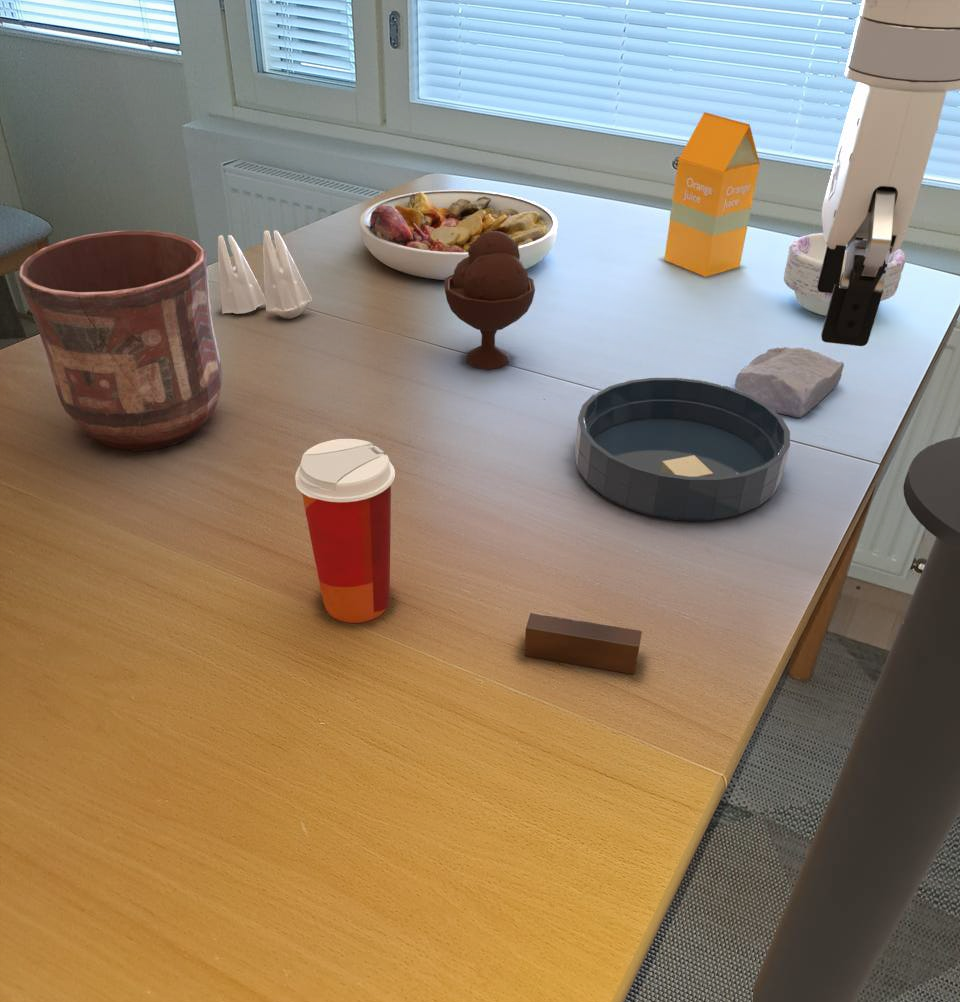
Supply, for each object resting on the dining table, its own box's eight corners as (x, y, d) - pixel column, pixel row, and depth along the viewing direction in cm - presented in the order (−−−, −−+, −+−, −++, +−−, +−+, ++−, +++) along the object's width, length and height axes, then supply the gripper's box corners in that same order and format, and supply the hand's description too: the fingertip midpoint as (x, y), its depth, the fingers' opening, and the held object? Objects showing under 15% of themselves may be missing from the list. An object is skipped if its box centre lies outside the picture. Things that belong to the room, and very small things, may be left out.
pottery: (235, 457, 99) (205, 286, 87) (59, 473, 96) (4, 298, 84) (231, 382, 112) (205, 224, 100) (77, 394, 109) (30, 233, 97)
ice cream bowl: (432, 347, 120) (430, 225, 111) (514, 337, 123) (519, 217, 113) (458, 384, 113) (459, 256, 103) (544, 371, 116) (553, 246, 106)
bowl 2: (778, 432, 105) (789, 390, 102) (778, 538, 90) (791, 493, 86) (590, 408, 109) (594, 367, 106) (559, 506, 93) (563, 462, 90)
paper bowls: (765, 285, 138) (777, 229, 133) (867, 285, 139) (883, 230, 134) (795, 328, 127) (809, 268, 122) (906, 328, 128) (925, 268, 122)
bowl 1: (483, 210, 162) (484, 160, 157) (595, 264, 144) (600, 209, 139) (327, 241, 149) (323, 188, 144) (428, 304, 131) (427, 246, 126)
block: (688, 486, 95) (694, 455, 93) (706, 504, 93) (713, 473, 90) (656, 492, 94) (662, 461, 92) (674, 511, 92) (680, 479, 89)
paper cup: (371, 565, 85) (361, 425, 76) (418, 609, 81) (413, 466, 72) (294, 596, 82) (273, 454, 73) (339, 644, 77) (323, 498, 68)
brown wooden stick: (523, 656, 77) (525, 627, 75) (528, 640, 78) (530, 612, 76) (634, 674, 75) (639, 646, 73) (637, 658, 77) (642, 630, 75)
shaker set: (315, 313, 128) (306, 228, 121) (302, 325, 125) (293, 238, 118) (234, 302, 130) (221, 218, 123) (220, 314, 127) (206, 228, 120)
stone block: (725, 412, 112) (807, 421, 107) (725, 372, 110) (810, 379, 104) (766, 380, 120) (845, 388, 114) (768, 342, 117) (849, 348, 111)
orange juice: (705, 277, 141) (730, 128, 127) (663, 259, 146) (683, 115, 133) (740, 266, 144) (769, 120, 131) (698, 250, 149) (721, 108, 136)
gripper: (843, 28, 67) (788, 271, 78) (858, 76, 54) (789, 358, 66) (955, 34, 66) (882, 280, 77) (997, 85, 53) (902, 371, 64)
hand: (840, 316), depth 71 cm, fingers open, 9 cm apart
